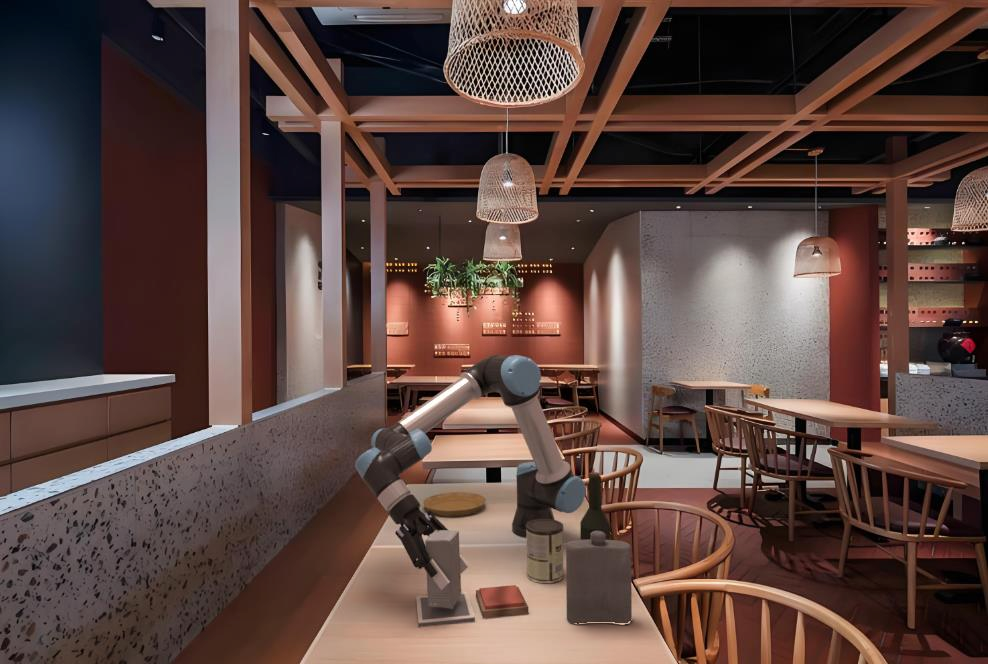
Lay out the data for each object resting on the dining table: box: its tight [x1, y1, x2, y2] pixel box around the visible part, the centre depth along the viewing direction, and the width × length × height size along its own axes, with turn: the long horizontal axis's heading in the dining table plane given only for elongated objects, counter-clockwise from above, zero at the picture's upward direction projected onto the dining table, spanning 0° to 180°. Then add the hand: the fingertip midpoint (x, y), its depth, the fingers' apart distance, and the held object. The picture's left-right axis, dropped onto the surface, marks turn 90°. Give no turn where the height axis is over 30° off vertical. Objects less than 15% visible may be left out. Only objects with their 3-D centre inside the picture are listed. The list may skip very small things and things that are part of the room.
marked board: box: [415, 591, 476, 628], centre depth 132 cm, size 13×13×1 cm
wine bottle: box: [579, 471, 612, 540], centre depth 143 cm, size 8×8×30 cm
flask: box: [565, 531, 633, 624], centre depth 128 cm, size 15×6×20 cm, turn 88°
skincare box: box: [424, 529, 462, 609], centre depth 132 cm, size 8×7×16 cm
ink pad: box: [475, 584, 529, 619], centre depth 134 cm, size 11×11×2 cm
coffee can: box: [525, 519, 565, 584], centre depth 151 cm, size 10×10×14 cm
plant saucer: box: [422, 491, 487, 517], centre depth 212 cm, size 24×24×3 cm
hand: (455, 577), depth 131 cm, fingers closed on skincare box, 9 cm apart
